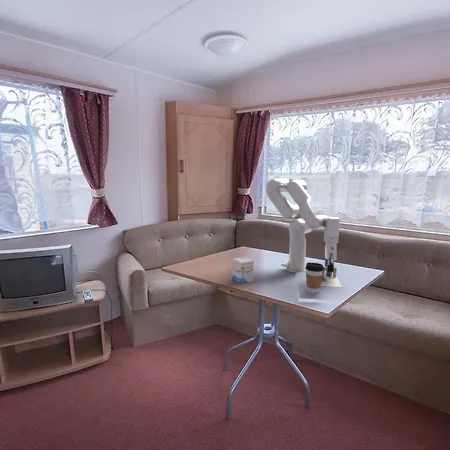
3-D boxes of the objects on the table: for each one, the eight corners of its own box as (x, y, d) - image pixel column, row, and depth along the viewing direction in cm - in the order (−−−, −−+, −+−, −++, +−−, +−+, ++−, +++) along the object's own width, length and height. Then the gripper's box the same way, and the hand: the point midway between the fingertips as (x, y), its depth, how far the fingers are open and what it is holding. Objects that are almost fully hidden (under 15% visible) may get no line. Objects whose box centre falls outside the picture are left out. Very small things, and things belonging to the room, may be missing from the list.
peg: (332, 276, 172) (333, 262, 171) (326, 276, 172) (327, 262, 171) (331, 275, 175) (332, 261, 174) (325, 274, 175) (326, 260, 174)
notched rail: (315, 275, 174) (315, 266, 173) (314, 274, 176) (315, 266, 175) (336, 276, 172) (336, 268, 171) (335, 275, 174) (336, 267, 173)
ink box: (239, 283, 164) (240, 262, 162) (232, 278, 171) (232, 258, 169) (253, 281, 168) (254, 260, 166) (245, 276, 175) (246, 256, 173)
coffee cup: (301, 290, 155) (303, 261, 152) (318, 290, 155) (319, 261, 153) (307, 297, 146) (309, 266, 144) (324, 296, 147) (326, 266, 145)
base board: (316, 288, 158) (316, 285, 158) (312, 276, 177) (312, 274, 176) (342, 290, 156) (342, 287, 156) (335, 278, 175) (335, 275, 174)
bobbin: (315, 281, 164) (315, 269, 163) (314, 277, 170) (314, 266, 169) (326, 282, 163) (327, 270, 162) (325, 278, 169) (326, 266, 168)
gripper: (341, 242, 161) (338, 274, 164) (335, 236, 178) (333, 265, 181) (326, 242, 163) (324, 273, 165) (321, 236, 179) (320, 264, 182)
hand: (329, 269), depth 173 cm, fingers open, 9 cm apart
